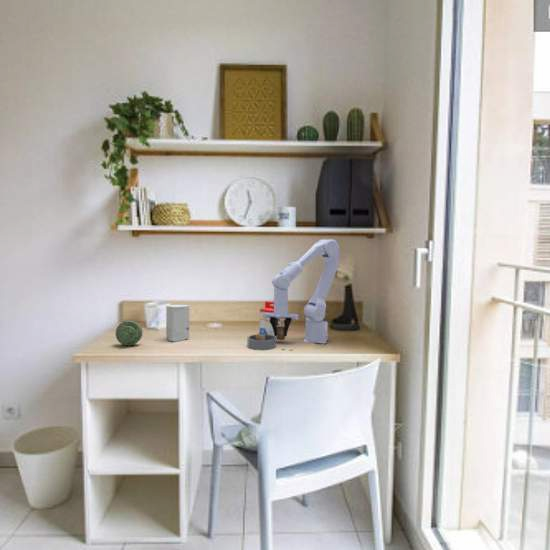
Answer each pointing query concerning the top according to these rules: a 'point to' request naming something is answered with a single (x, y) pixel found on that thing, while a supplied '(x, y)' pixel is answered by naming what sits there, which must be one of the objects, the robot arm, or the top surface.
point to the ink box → (267, 319)
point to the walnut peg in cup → (260, 337)
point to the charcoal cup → (261, 342)
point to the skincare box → (177, 322)
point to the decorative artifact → (129, 332)
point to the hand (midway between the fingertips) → (280, 335)
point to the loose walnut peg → (280, 333)
